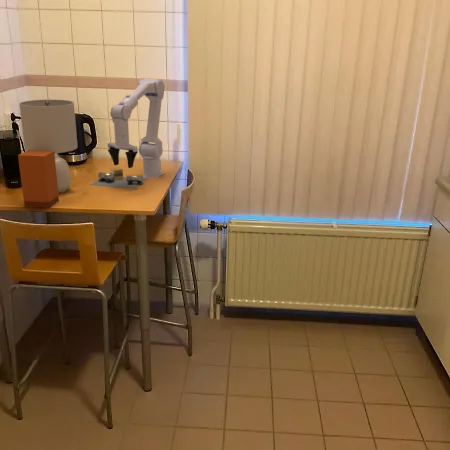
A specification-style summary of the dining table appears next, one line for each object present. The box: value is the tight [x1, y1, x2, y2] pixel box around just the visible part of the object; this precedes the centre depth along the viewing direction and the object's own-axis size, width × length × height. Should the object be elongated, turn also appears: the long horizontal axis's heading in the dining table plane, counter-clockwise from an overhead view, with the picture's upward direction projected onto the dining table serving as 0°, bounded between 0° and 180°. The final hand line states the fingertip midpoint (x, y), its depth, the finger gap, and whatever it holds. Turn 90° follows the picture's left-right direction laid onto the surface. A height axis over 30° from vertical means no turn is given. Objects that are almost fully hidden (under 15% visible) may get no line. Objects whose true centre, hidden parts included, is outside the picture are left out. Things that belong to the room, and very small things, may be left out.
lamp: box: [19, 99, 78, 194], centre depth 201 cm, size 20×20×37 cm
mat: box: [89, 176, 148, 190], centre depth 220 cm, size 16×21×1 cm
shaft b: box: [125, 174, 144, 186], centre depth 218 cm, size 7×4×4 cm, turn 94°
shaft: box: [97, 171, 115, 183], centre depth 220 cm, size 7×4×4 cm, turn 64°
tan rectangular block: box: [109, 167, 124, 180], centre depth 224 cm, size 4×4×5 cm
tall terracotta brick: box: [17, 150, 60, 209], centre depth 189 cm, size 10×9×20 cm
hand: (123, 166), depth 210 cm, fingers open, 7 cm apart
